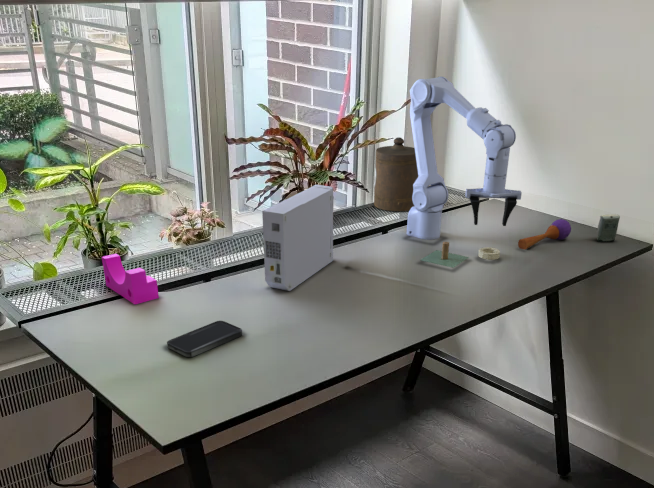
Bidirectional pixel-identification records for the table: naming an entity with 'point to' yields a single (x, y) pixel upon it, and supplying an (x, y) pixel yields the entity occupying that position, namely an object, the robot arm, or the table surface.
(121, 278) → the toy block
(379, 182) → the wooden container
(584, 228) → the table surface
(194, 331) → the phone
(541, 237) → the maraca
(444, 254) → the tape stand
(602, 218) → the grey upright rounded block
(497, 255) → the tape roll
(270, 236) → the game console
